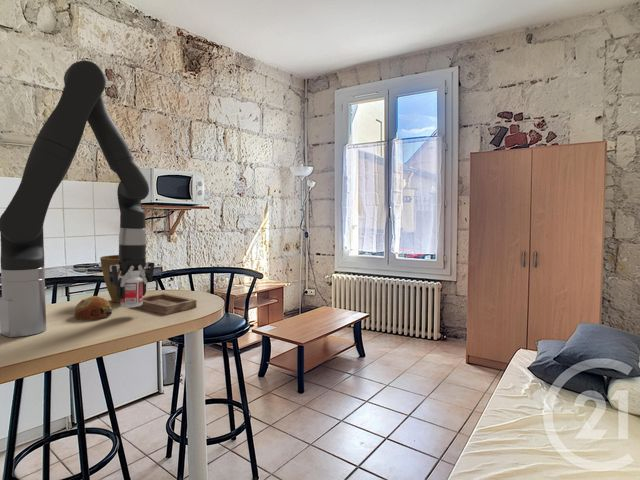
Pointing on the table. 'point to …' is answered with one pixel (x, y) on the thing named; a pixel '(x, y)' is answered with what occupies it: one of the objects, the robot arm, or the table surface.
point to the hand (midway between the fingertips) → (131, 296)
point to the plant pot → (105, 263)
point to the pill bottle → (133, 290)
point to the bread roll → (93, 308)
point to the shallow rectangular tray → (167, 303)
